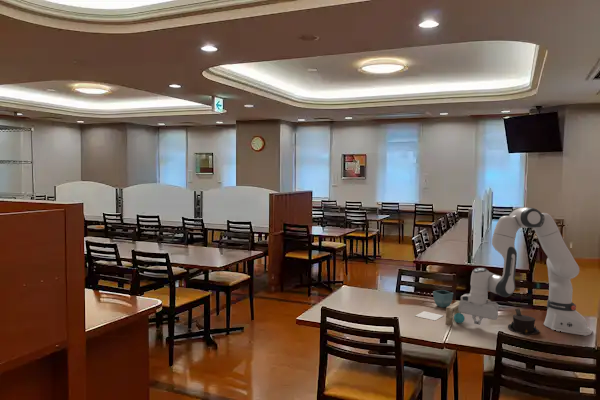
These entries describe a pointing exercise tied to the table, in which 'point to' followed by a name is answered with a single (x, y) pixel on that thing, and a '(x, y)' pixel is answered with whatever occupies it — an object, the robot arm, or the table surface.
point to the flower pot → (442, 298)
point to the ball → (459, 318)
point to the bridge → (451, 312)
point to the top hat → (523, 324)
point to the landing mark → (429, 315)
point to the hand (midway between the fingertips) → (477, 324)
